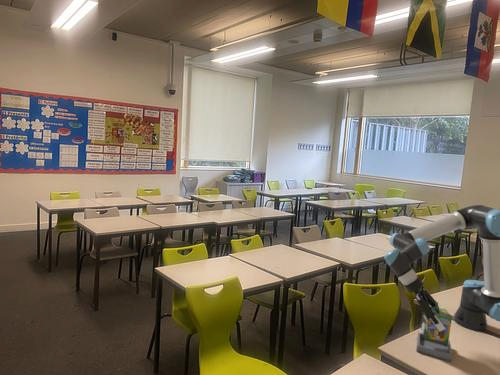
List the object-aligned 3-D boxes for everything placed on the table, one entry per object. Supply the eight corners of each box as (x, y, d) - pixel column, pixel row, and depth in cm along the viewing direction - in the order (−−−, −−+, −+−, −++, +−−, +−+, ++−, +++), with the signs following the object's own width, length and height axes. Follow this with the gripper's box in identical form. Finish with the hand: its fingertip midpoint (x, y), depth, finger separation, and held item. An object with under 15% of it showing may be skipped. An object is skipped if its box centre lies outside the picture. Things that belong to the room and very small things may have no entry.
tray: (448, 347, 167) (449, 341, 167) (450, 361, 155) (451, 355, 155) (417, 338, 173) (418, 332, 172) (416, 351, 161) (417, 345, 160)
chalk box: (448, 343, 158) (454, 310, 156) (425, 339, 160) (431, 306, 158) (441, 332, 167) (447, 301, 165) (420, 328, 169) (425, 298, 167)
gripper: (407, 277, 178) (437, 318, 173) (399, 292, 158) (433, 339, 153) (421, 270, 175) (452, 311, 169) (415, 284, 155) (450, 331, 149)
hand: (443, 324), depth 161 cm, fingers closed on chalk box, 11 cm apart
